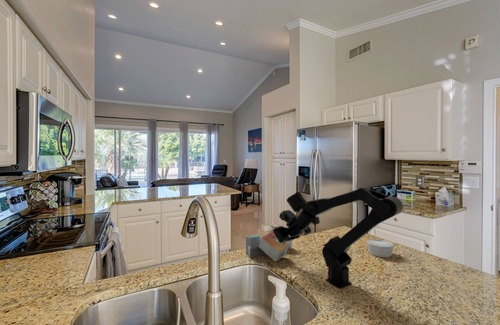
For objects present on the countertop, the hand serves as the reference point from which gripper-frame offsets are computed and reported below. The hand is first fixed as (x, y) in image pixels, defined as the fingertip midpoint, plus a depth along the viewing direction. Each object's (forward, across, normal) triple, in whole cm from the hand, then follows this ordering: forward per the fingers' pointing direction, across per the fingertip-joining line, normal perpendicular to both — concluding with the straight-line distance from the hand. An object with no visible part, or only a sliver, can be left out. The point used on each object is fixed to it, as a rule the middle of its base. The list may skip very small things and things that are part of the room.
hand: (282, 241), depth 105 cm
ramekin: (-11, -41, +23) cm, 48 cm away
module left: (+15, +6, -3) cm, 16 cm away
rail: (+12, -2, -1) cm, 12 cm away
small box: (+3, +1, +4) cm, 5 cm away
